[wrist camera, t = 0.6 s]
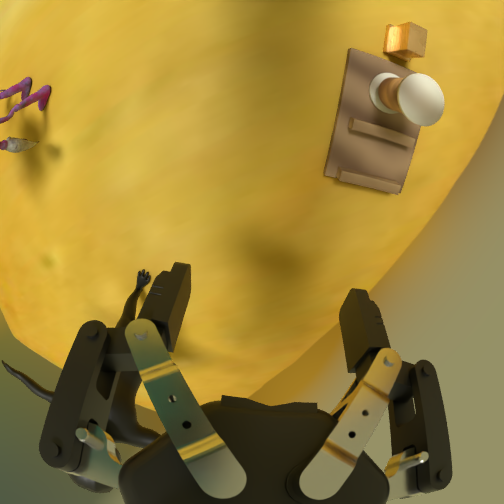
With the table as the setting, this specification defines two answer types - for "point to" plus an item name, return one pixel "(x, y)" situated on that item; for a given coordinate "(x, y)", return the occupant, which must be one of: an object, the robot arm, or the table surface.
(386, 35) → the tan wooden block
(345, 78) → the board
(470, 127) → the table surface
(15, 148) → the toy
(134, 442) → the monkey
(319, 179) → the table surface
